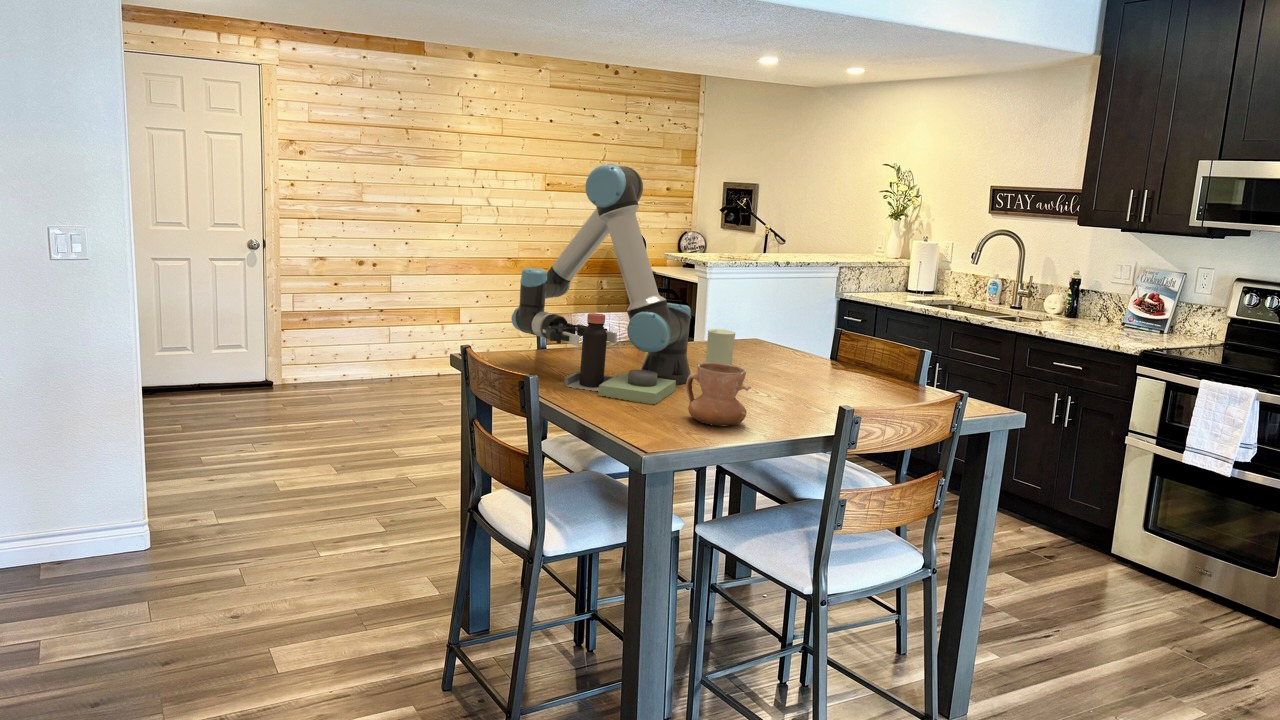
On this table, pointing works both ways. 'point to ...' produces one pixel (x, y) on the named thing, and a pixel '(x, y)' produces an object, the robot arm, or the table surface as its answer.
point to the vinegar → (593, 351)
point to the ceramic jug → (717, 394)
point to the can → (720, 346)
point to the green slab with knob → (629, 386)
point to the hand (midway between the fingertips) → (597, 339)
